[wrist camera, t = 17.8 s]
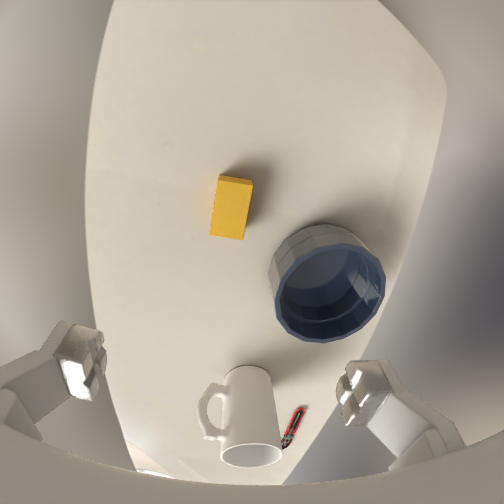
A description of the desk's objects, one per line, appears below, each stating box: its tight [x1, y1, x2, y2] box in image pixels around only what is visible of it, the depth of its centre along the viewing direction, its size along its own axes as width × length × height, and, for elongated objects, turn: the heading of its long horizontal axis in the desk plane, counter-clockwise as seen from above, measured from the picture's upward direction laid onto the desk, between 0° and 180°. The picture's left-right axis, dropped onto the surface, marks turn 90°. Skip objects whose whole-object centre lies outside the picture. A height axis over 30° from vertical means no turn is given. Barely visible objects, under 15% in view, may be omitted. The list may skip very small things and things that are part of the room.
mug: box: [197, 366, 283, 468], centre depth 32 cm, size 10×7×12 cm, turn 59°
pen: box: [281, 408, 305, 449], centre depth 43 cm, size 2×14×1 cm, turn 172°
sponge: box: [210, 175, 253, 240], centre depth 27 cm, size 5×3×2 cm, turn 169°
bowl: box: [269, 224, 386, 343], centre depth 29 cm, size 11×11×6 cm
